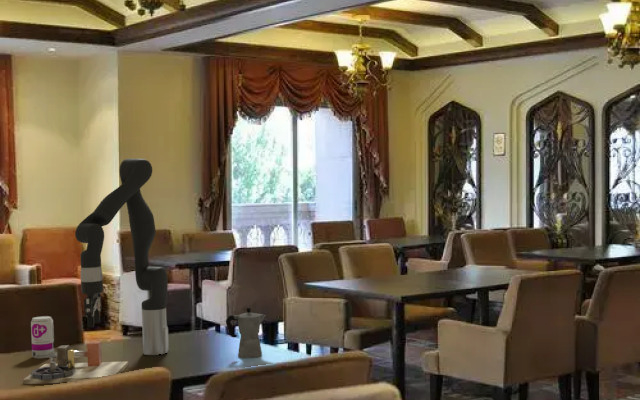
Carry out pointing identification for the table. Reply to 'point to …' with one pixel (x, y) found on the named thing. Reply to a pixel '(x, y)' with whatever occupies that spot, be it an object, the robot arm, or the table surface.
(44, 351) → the supplement can
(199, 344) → the table surface
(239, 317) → the coffeepot
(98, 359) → the copper cube on rod
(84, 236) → the robot arm
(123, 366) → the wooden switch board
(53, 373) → the handwheel
